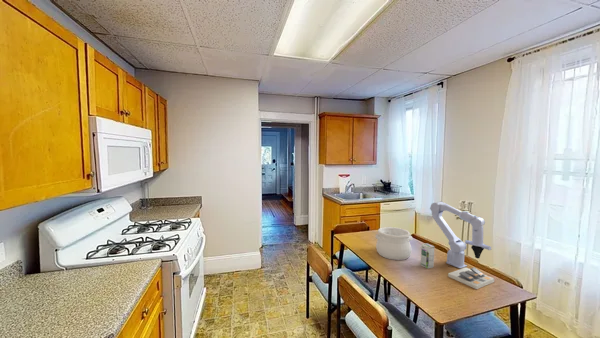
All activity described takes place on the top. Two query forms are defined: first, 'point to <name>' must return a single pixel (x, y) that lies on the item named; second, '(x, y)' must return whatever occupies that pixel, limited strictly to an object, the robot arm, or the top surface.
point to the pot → (393, 243)
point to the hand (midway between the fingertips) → (477, 257)
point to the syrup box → (427, 255)
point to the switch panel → (475, 282)
